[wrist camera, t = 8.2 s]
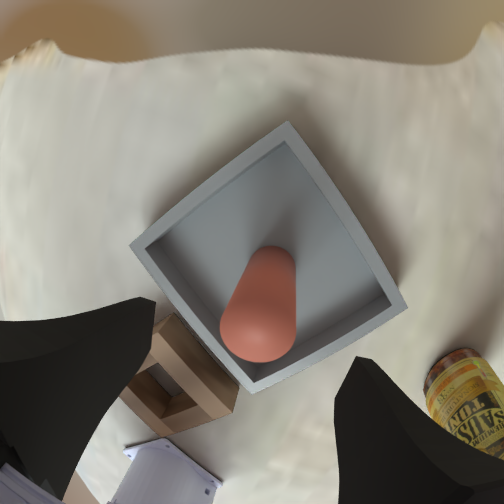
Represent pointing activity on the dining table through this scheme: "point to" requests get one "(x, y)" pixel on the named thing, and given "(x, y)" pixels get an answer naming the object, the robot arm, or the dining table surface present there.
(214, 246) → the tray
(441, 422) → the sauce bottle
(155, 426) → the pin block
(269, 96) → the dining table surface
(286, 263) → the pin
